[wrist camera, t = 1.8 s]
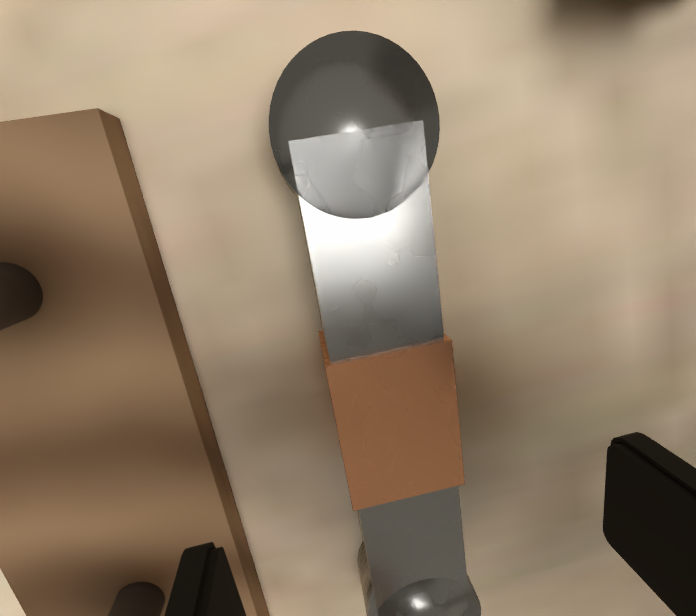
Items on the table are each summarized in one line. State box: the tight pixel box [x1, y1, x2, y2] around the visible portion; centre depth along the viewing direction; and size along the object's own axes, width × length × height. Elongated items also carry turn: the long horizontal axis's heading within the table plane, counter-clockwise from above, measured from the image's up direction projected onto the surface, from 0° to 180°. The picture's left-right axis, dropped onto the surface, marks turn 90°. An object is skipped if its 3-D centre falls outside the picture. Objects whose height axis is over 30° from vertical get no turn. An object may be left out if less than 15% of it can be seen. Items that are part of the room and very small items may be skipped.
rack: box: [0, 108, 269, 616], centre depth 12 cm, size 24×9×10 cm, turn 9°
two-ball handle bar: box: [269, 31, 481, 616], centre depth 15 cm, size 25×5×4 cm, turn 9°
